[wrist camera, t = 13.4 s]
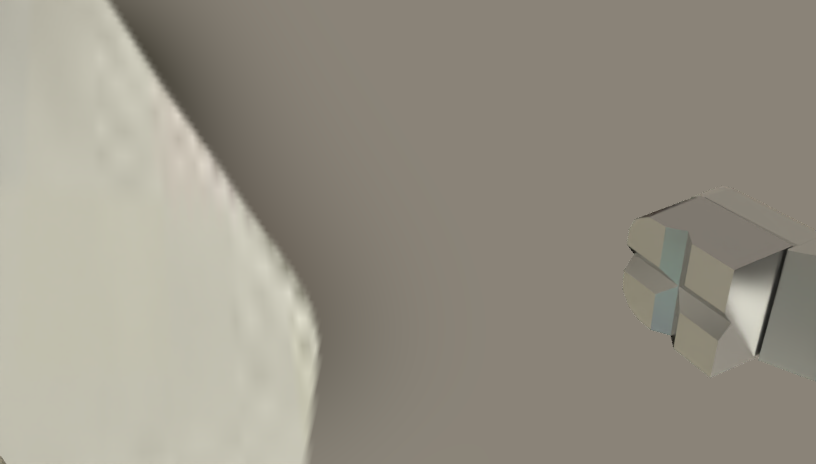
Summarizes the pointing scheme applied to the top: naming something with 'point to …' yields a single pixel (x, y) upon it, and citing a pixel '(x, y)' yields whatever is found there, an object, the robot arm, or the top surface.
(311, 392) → the top surface
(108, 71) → the top surface
